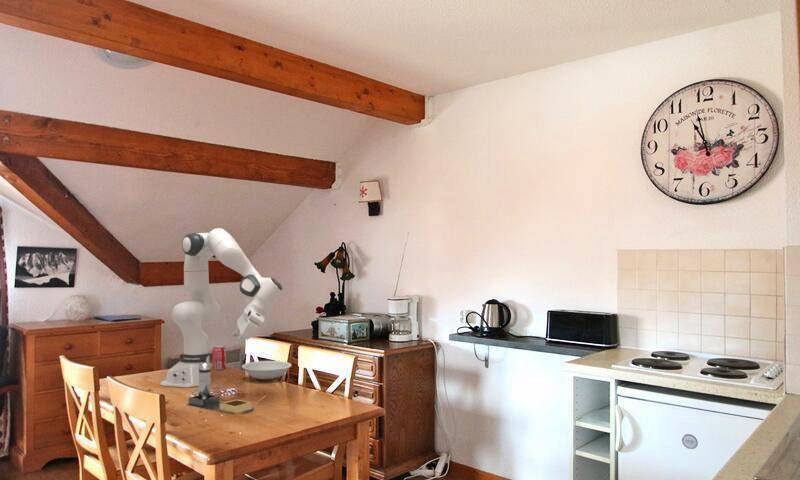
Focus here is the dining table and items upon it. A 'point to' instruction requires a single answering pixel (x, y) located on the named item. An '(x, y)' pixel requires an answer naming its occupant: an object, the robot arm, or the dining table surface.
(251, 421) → the dining table surface
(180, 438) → the dining table surface
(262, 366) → the soup bowl
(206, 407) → the plate
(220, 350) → the soda can
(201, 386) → the tube
